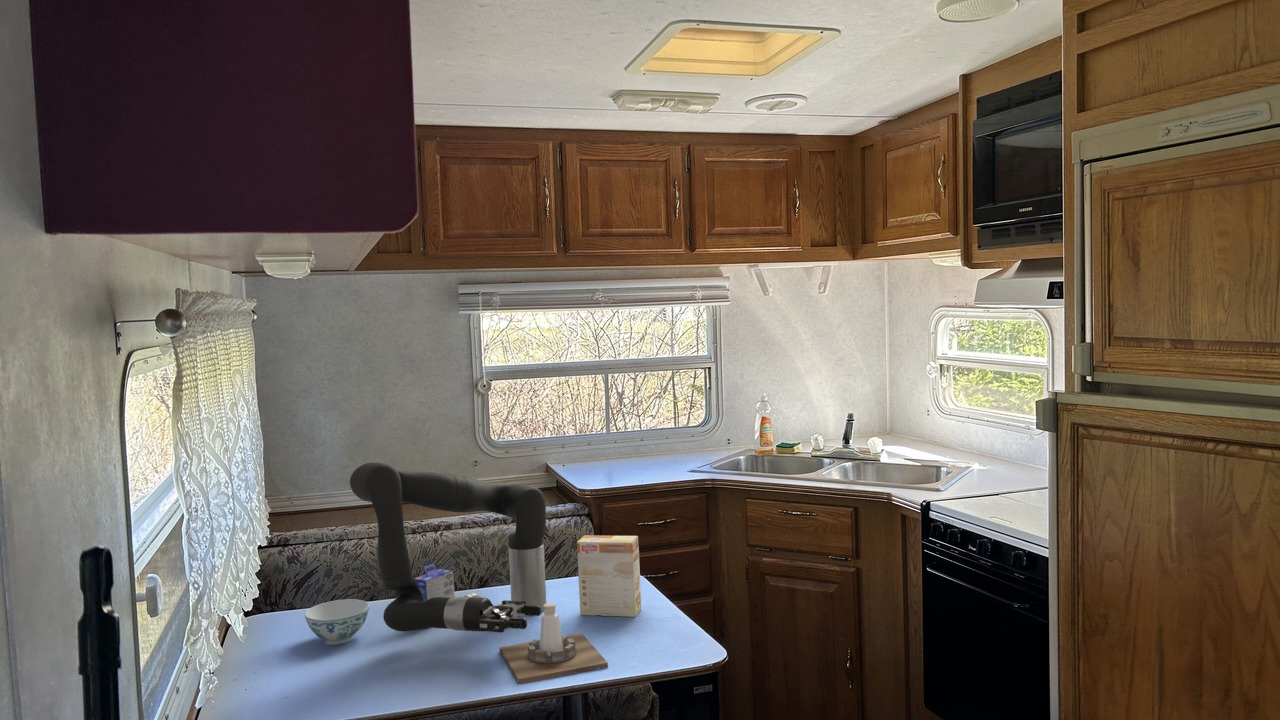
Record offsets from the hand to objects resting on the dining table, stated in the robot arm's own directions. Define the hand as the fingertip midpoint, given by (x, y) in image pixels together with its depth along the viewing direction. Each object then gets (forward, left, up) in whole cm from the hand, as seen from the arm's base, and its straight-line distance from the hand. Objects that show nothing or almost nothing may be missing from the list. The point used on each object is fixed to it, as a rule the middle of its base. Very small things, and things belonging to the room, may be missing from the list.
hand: (533, 617), depth 202 cm
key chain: (-46, -5, -10) cm, 47 cm away
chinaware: (-34, -42, -10) cm, 54 cm away
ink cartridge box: (-37, -18, -10) cm, 42 cm away
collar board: (+2, +3, -9) cm, 10 cm away
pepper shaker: (+2, +3, -8) cm, 9 cm away
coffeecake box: (-22, +25, -10) cm, 35 cm away
